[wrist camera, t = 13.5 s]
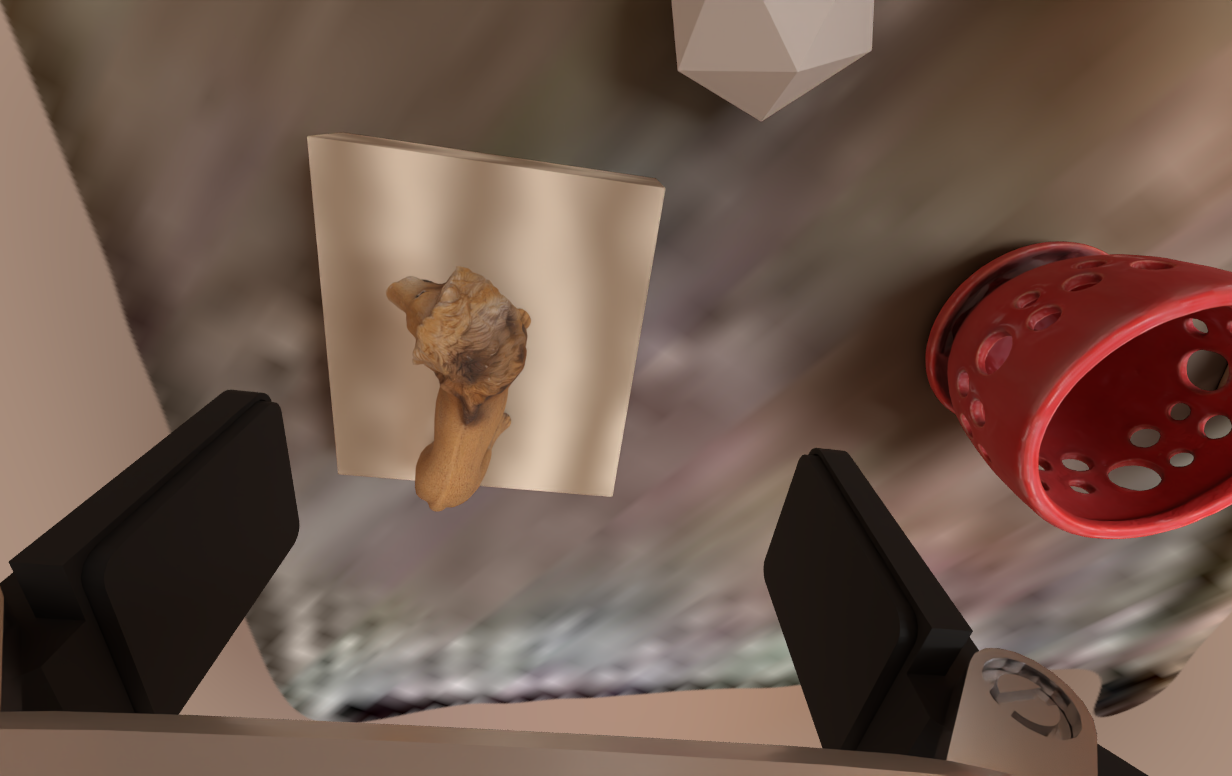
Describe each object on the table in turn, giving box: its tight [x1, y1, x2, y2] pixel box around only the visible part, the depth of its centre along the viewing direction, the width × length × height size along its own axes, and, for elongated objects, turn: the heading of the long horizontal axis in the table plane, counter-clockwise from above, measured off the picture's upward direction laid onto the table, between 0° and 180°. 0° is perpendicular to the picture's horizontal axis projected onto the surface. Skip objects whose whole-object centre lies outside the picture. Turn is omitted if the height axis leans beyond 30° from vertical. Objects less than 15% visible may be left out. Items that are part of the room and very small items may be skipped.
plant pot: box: [925, 242, 1232, 539], centre depth 30 cm, size 13×13×12 cm
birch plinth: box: [307, 132, 665, 497], centre depth 31 cm, size 16×18×4 cm
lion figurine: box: [386, 266, 531, 511], centre depth 26 cm, size 15×5×9 cm, turn 172°
